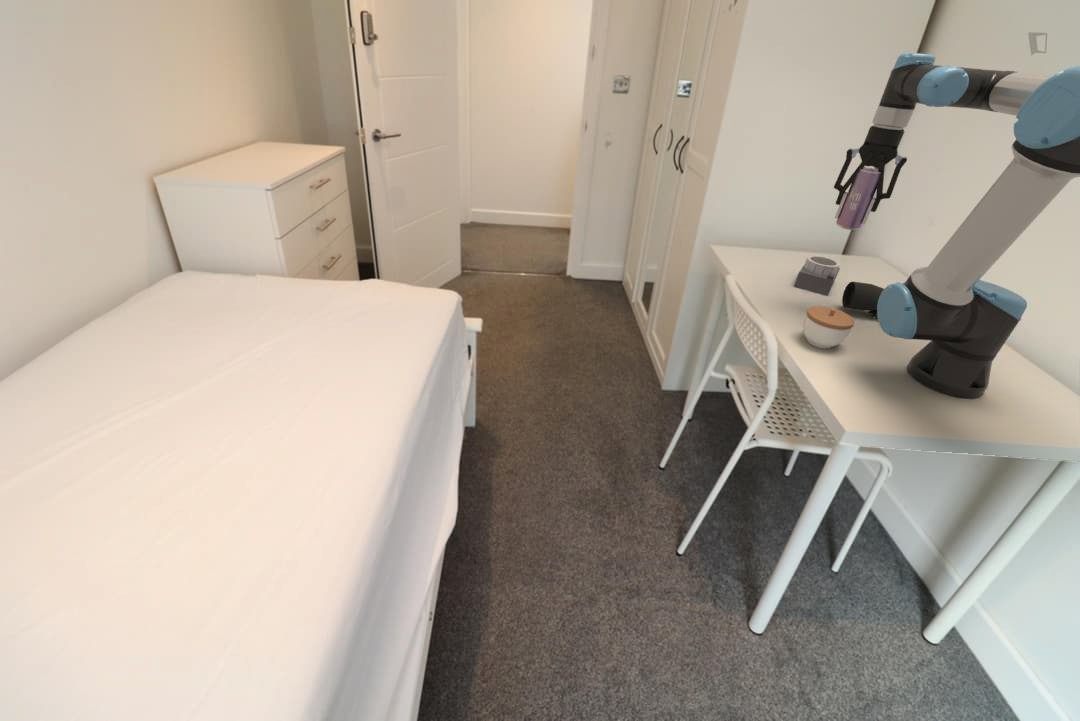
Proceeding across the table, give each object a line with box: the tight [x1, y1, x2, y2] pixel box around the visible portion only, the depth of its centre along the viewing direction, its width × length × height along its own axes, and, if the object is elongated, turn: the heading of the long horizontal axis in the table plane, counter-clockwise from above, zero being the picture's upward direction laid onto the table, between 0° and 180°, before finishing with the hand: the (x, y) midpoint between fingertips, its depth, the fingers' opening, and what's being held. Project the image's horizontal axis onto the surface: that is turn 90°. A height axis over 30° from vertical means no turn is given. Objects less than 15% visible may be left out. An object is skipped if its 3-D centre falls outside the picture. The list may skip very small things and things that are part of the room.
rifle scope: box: [841, 281, 885, 319], centre depth 143 cm, size 10×26×10 cm, turn 78°
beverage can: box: [836, 166, 881, 231], centre depth 133 cm, size 6×6×15 cm
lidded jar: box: [802, 305, 855, 349], centre depth 127 cm, size 11×11×9 cm
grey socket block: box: [793, 254, 841, 297], centre depth 161 cm, size 14×10×8 cm
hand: (850, 219), depth 136 cm, fingers closed on beverage can, 6 cm apart
